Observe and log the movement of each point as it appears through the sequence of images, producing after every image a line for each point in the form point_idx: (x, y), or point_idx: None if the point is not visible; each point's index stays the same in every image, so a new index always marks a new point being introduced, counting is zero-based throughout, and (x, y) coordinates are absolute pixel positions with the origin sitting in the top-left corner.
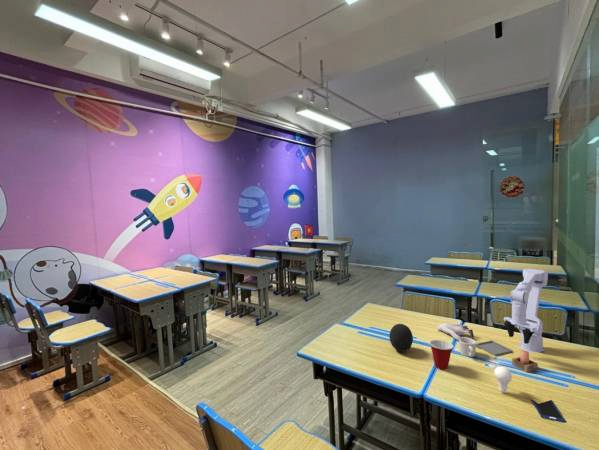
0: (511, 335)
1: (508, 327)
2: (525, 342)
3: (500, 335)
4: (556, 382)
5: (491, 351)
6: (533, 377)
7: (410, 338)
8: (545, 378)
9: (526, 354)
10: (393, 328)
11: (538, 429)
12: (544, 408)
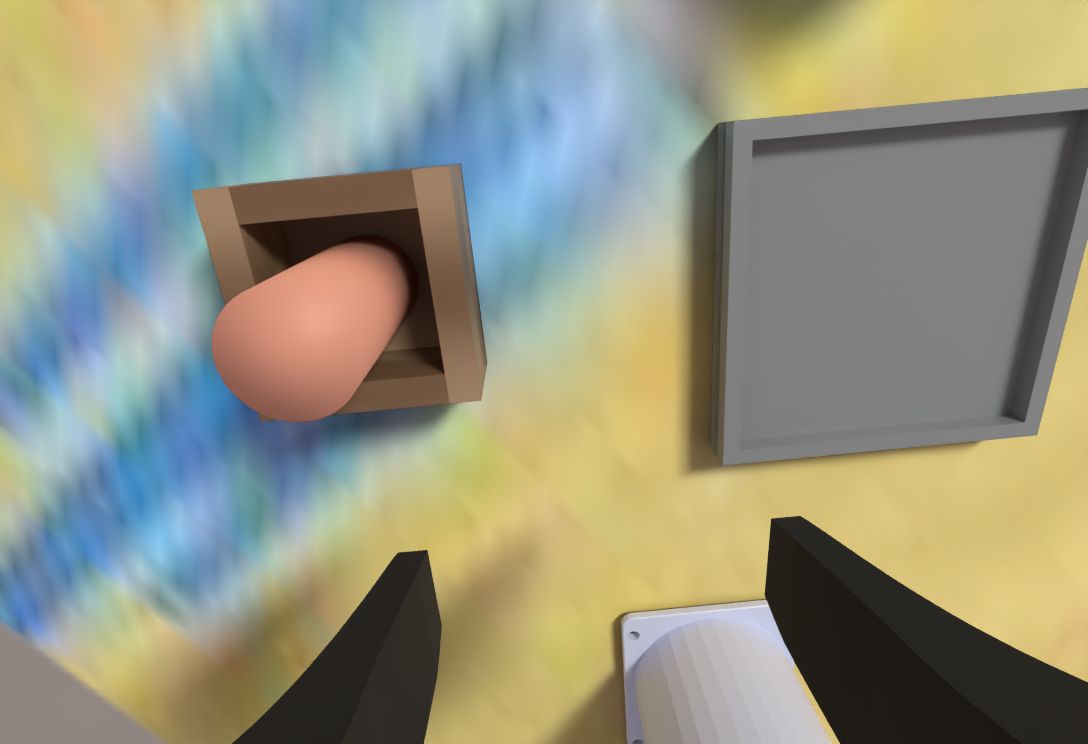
0: (783, 570)
1: (988, 718)
2: (385, 572)
3: (1056, 642)
4: (48, 362)
5: (837, 177)
6: (155, 189)
7: None
8: (132, 317)
9: (223, 323)
10: None
11: None
12: None
